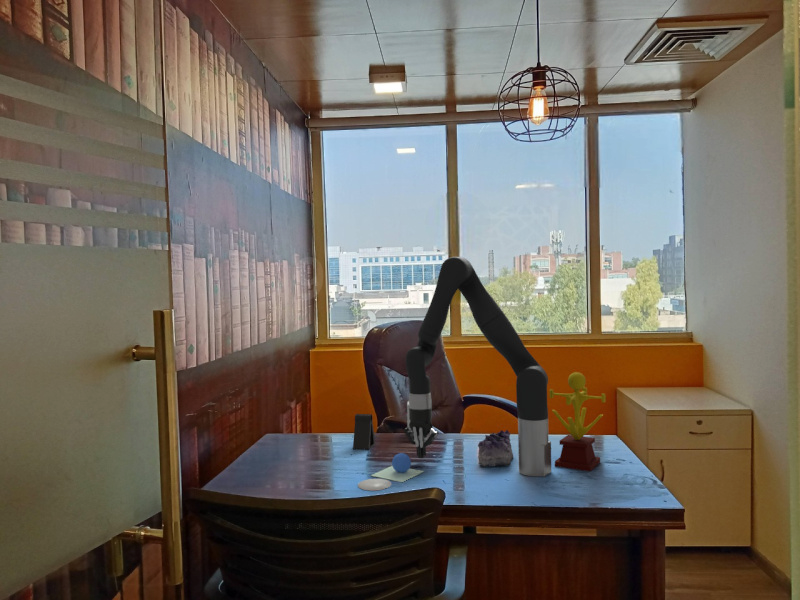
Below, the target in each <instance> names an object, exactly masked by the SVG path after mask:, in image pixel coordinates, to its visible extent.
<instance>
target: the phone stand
mask: <svg viewBox="0 0 800 600" xmlns="http://www.w3.org/2000/svg"><path fill="white" fill-rule="evenodd" d="M353 429H354V431H353V441H352V442H353V443H352V444H353V445H352V450H360V451H362V450H363V451H369V450H371V449H372V448H373V447H374V446H375V445H376V437H375V431H374V423H373V415H372V414H371V413H355V415H354V428H353Z"/></svg>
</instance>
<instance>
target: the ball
mask: <svg viewBox="0 0 800 600" xmlns="http://www.w3.org/2000/svg"><path fill="white" fill-rule="evenodd" d="M411 464H412V460H411V458H410V456H409V455H408V454H406V453H403V452H401V453H397V454H395V455H394V456H393V458H392V461H391V466H393V468H394V469H395V471H397V472H399V473H404V472H406V471H408V470H409V468H410V469H411V466H412V465H411Z"/></svg>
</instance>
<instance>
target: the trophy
mask: <svg viewBox="0 0 800 600" xmlns="http://www.w3.org/2000/svg"><path fill="white" fill-rule="evenodd" d="M567 383H568V386H569V387H570V388H571V390H573V391H574V392H571V393H561V392H560V393H559V392H554V389H553V388H552V389H551V388H550V389H549V398H550V399H553V398H554V396H561V397H564V398H565V404H566V406H570V405H572V407H573V410H574V419H573V417H571V416H568V417H567V422H568V423H567V422H566V421H565V420H564V419H563V418H562V416H561V415H560V413H558V411H557V410H555V409H551V412H552V413H553V414H554V415H555V416H556V418H557V419H558V420H559V422H561V425H563V427H565V429H566V430H567V432H568V433H569V434H567V435H565V436H564V437H562V438H561V439H560V440H559V446H560V445H561V446H562V447H561V451H560V452H561V453H560V456H559V457H558V458H557V459H555V460H554V467H558V468H564V469H571V470H577V471H578V470H579V471H582V472H583V471H584V472H591V471H592V470H593V469H595V468H596V467H597V466H598V465H599V464H600V462H601V457H600V456H596V455H595V451H594V447H593V444H594V443H595V442H596V437H590V436H589V437H588V436H585V435H586V434H587V433H588V432H589V431H590V430H591V428H592V427H594V426H595V424H596V423H598V421H600V419H601V418H602V417H603V416H604V414H599V415H597V417H596V418H595V419H594V420H593V421H592V422H591V423H590V424H588V425H587V426H584V423H585V418H586V413H587V407H582V405H583V403H584V402H585V401H587V400H591V399H596V400H597V399H598V400H601V403H606V401H607V400H606V393H601V396H595V395H588V388H587V386H586V383H587V382H586V377H585V375H583V373H581V372H576V371H575V372H572V373H571V374H569V376H568V378H567ZM585 386H586V387H585Z"/></svg>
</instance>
